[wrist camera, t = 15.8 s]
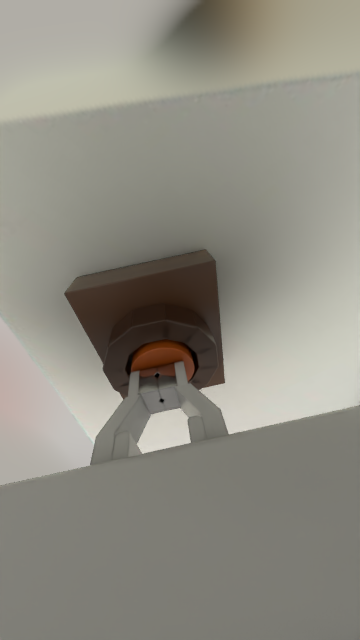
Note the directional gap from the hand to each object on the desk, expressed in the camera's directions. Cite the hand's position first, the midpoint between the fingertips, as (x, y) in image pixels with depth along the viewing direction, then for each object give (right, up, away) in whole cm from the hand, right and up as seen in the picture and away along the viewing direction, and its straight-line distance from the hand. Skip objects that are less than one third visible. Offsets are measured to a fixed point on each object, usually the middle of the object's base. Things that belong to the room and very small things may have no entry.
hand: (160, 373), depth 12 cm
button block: (0, +2, +4) cm, 4 cm away
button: (0, +1, +1) cm, 2 cm away
